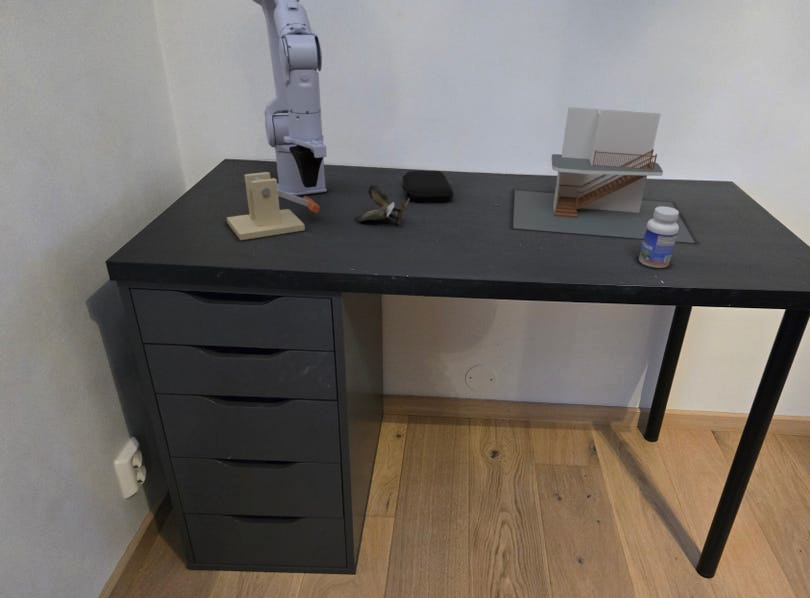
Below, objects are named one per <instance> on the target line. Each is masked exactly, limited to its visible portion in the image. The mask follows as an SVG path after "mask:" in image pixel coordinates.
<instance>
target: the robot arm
mask: <svg viewBox="0 0 810 598" xmlns="http://www.w3.org/2000/svg"><path fill="white" fill-rule="evenodd" d="M252 1H253V2H254V3H255V4H258V5H259V6H260V7H261V9H262V12H263V15H264V18H265V22H266V30H267V37H268V45H269V52H270V60H271V65H272V74H273V81H274V83H273V84H274V88H275V97H274V98H273V99H272V100H271V101H270V102H269V103H268V104H267V105H266V106H265V109H264V126H265V135H266V140H267V143H268V145H269V146H270V147H271V148H274V150H275V161H276V171H277V179H278V180H277V188H278V190H281V191H284V192H287V193H289V194H292V195H295V196H306V195H310V194H319V193H326V192H327V190H328V189H327V188H326V175H325V174H326V173H325V161H324V158H326V157H327V145H326V144H325V138H324V137H325V136H324V134H323V123H322V122H323V121H322V107H321V105H322V104H321V87H320V73H319V72H321V71H322V66H323V55H322V54H323V53H322V52H323V51H322V46H321V41H320V37H319V34H318V33H316V31H315V30H312V27H311V24H310V20H309V17H308V13H307V10H306V8H305V7H304V6H303V4H301V3H300V0H252Z"/></svg>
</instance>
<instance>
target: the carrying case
mask: <svg viewBox="0 0 810 598" xmlns="http://www.w3.org/2000/svg"><path fill="white" fill-rule="evenodd" d="M402 182H403V184H404V187H402V189H401V191H402V194H404V195H405V196H406V197H408V198H410V199H411V200H412V201H414V202H419V203H420V202H421V203H423V202H424V203H425V202H426V203H427V202H430V203H433V202H449V201H450V200H451V199H452V198H453V197H454V191H453V189H452V187H451V185H450V183H449V181H448V179H447V177H446V176H445V175H444V173H443V172H442V171H440V170H409V171H407V172H406V173H405V174H403V176H402Z"/></svg>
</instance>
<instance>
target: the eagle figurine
mask: <svg viewBox="0 0 810 598" xmlns="http://www.w3.org/2000/svg"><path fill="white" fill-rule="evenodd" d="M367 193H368V196H369V198H370V199H371V200H372V201H373V202H374V203H375V204H376V205H377V206H379V207H380V208H379V209H372V210H369V211H367V212H365V213H364V214H363V215H361V216H359V217H358V218H357V220H358V221H359V222H365V221H369V220H372V221H376V220H380V219H382V217H384V218H386V219H388V220H389V219H390V218H391V219H393V220H395V221H396V224H397V225H398V227H400V226H401V220H402V218H403V214H404V212H405V210H406V209H407V206H408V205H409V202H410V201H411V197H408V198H407V200H406V202H404V201H403V200H400V204H399V207H395V201H391V200H390V198H389V196H388V195H387V193H385V192H383V191H382V190H381V189H380V188H379V185H377V184H370V185H369V186H368V189H367ZM390 202H391V203H390ZM392 212H397V216H396V215H395V214H393V213H392Z"/></svg>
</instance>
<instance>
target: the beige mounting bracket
mask: <svg viewBox="0 0 810 598" xmlns="http://www.w3.org/2000/svg"><path fill="white" fill-rule="evenodd" d="M255 177H258V178H261V179H263V180H255V181H253V180H254V178H255ZM244 182H245V189H246V191H245V192H246V198H247V205H248V213H249V214H242V215H235V216H234V215H233V216H227V217H226V223H227V225H228V226H229V228H230V229H231V230H232V231H233V232H234V234H235V235H236V237H237V238H238V239H239V240H240V241H245V240H251V239H259V238H264V237H265V238H266V237H271V236H278V235H283V234H290V233H296V232H303V231H306V225H305V223H304V222H303V221H302V220H301V219H300V218H299V217H298V216H297V215H296V214H295V213H294V212H293V211H292V210H291V209H290V208H285V209H280V200H279V198H280V197H279V196H278V188H277V183H278V180H277V178H275V177H272V178H271V173H270V172H269V171H263V172H255V173H245V174H244ZM251 188H252V190H251Z"/></svg>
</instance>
